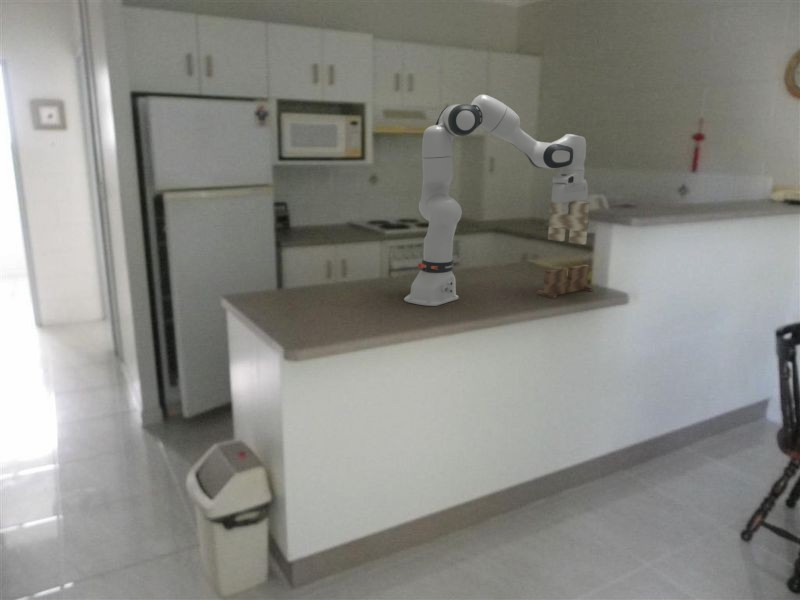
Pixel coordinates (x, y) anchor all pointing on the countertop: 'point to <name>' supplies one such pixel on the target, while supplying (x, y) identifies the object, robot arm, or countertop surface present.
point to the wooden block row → (565, 281)
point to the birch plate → (569, 222)
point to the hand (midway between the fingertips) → (568, 213)
